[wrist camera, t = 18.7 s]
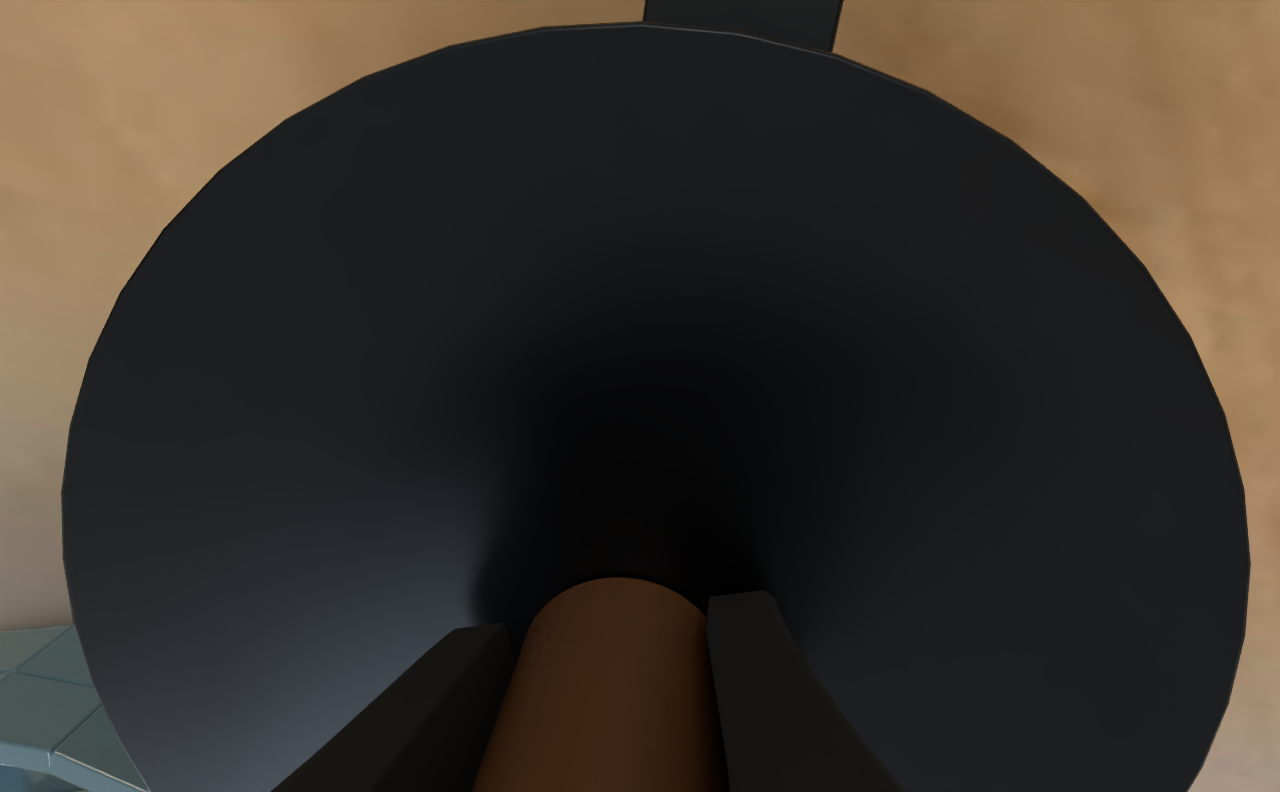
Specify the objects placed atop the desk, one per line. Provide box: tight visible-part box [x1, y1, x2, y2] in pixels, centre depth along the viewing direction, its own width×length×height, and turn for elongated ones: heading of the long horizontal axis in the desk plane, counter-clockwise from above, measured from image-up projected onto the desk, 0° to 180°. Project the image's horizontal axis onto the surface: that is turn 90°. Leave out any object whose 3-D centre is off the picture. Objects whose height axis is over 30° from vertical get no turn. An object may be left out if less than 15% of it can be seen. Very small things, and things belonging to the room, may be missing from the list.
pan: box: [642, 0, 844, 53], centre depth 13 cm, size 13×18×4 cm
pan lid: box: [61, 21, 1251, 792], centre depth 8 cm, size 14×14×5 cm
